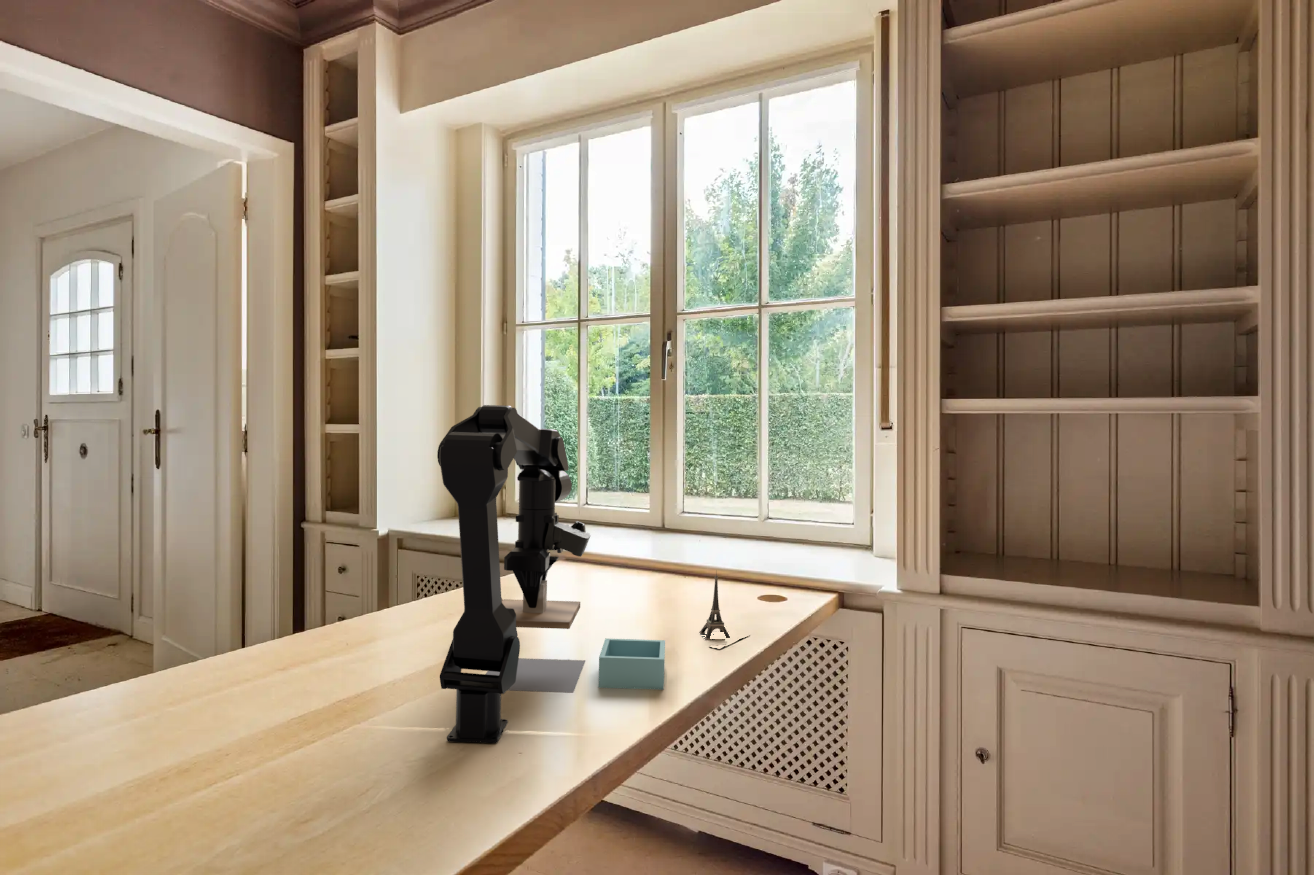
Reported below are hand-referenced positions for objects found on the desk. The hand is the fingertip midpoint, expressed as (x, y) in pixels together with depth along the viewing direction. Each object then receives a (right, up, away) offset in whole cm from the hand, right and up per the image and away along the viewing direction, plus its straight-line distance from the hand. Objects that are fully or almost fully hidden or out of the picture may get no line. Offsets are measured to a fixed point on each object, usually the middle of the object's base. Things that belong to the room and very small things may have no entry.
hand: (534, 605), depth 118 cm
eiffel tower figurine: (+31, -13, +25) cm, 42 cm away
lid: (0, -2, 0) cm, 2 cm away
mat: (0, -12, 0) cm, 12 cm away
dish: (+16, -12, 0) cm, 20 cm away
